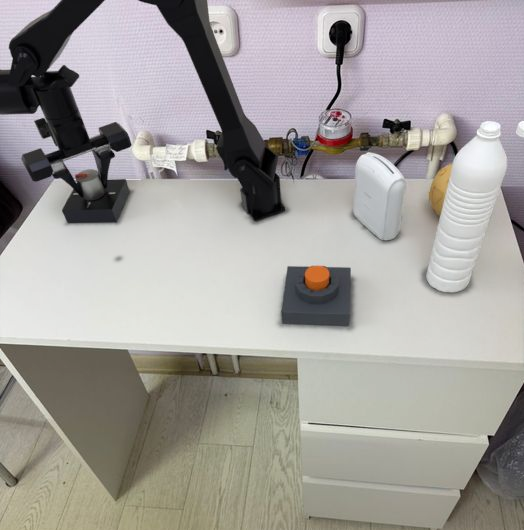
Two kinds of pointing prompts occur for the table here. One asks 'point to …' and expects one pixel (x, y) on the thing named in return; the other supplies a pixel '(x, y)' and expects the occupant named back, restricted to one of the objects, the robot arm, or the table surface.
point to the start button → (317, 277)
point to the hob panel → (98, 204)
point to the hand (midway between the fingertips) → (93, 191)
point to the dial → (90, 184)
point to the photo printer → (378, 195)
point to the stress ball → (439, 188)
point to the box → (317, 298)
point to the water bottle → (468, 208)
